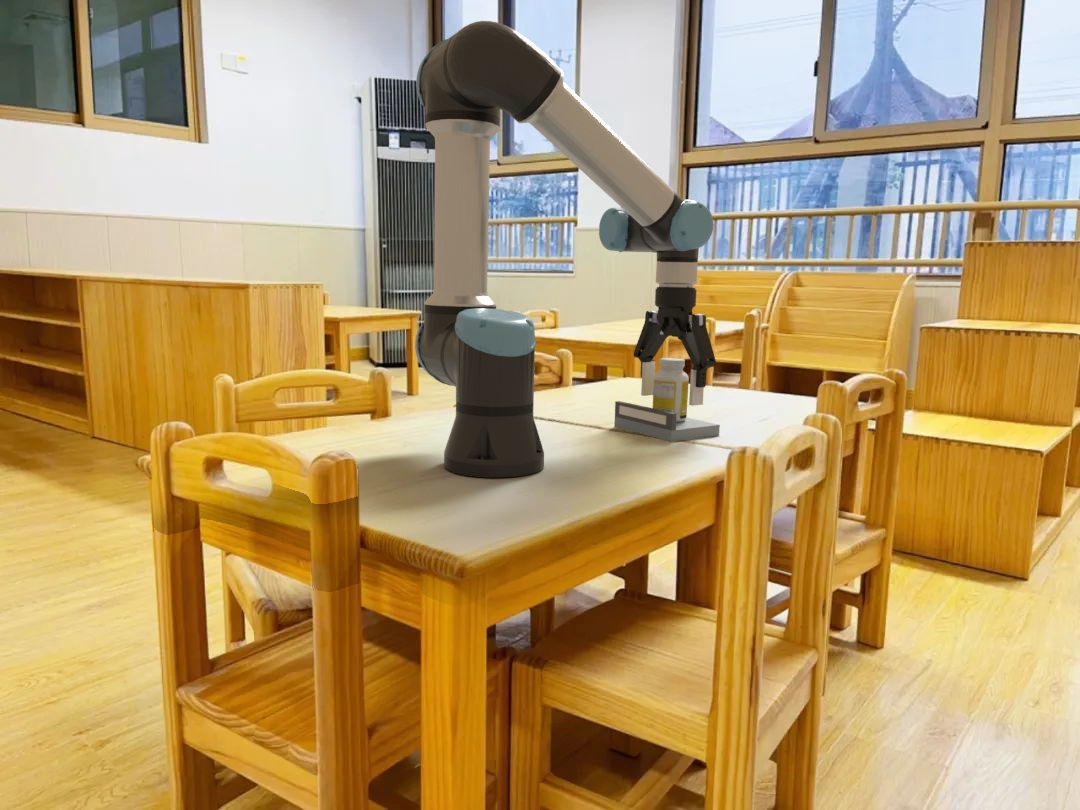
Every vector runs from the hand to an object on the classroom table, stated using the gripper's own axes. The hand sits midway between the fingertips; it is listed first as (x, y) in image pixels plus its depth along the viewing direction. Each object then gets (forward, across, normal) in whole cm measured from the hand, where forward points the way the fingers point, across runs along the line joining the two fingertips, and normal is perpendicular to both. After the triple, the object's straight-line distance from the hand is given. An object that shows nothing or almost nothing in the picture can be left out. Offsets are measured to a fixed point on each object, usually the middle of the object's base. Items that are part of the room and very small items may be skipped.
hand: (670, 400), depth 153 cm
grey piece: (+6, 0, +1) cm, 6 cm away
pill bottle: (+4, 0, 0) cm, 4 cm away
